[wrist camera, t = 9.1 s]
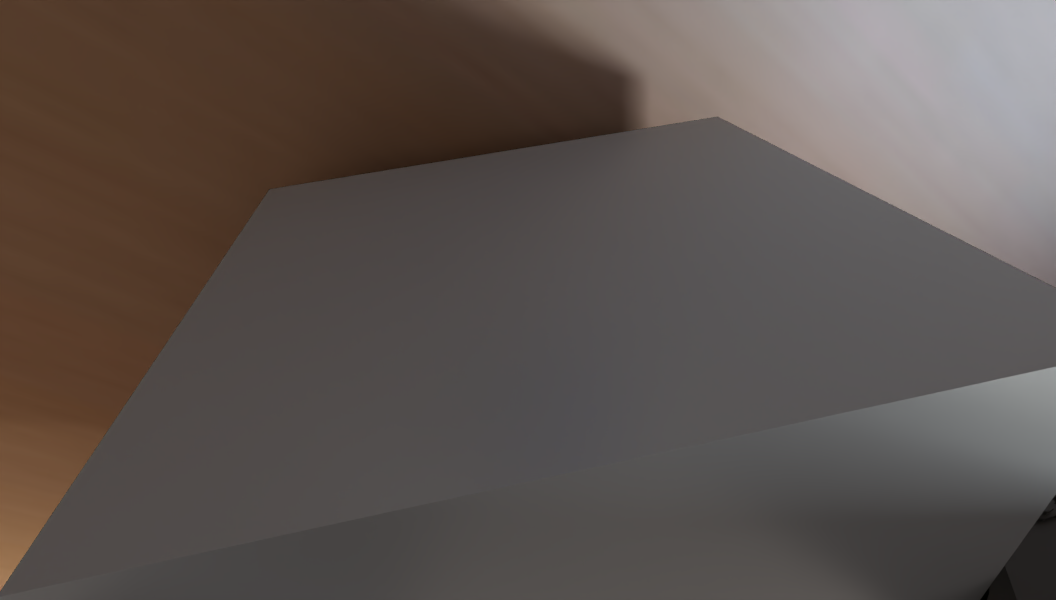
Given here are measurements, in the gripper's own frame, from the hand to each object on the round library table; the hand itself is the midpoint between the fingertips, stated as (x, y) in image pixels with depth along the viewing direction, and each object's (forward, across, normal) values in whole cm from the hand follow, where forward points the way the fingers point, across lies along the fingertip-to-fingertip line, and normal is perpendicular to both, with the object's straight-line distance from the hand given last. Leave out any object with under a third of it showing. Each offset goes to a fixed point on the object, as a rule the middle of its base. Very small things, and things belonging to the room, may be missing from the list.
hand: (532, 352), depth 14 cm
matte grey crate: (+1, 0, 0) cm, 1 cm away
